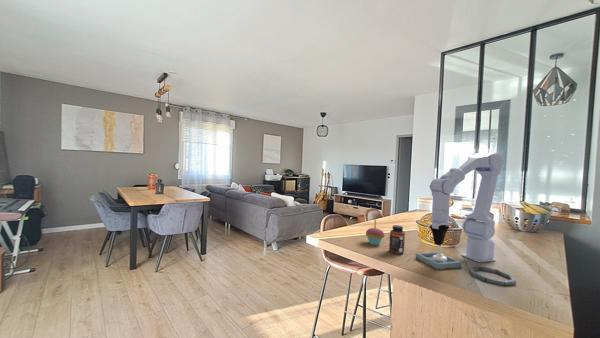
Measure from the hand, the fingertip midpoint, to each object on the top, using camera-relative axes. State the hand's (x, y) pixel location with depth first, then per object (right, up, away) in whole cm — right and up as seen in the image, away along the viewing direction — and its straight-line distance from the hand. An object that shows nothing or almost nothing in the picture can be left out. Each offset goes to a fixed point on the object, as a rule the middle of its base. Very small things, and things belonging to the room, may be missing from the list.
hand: (438, 244), depth 96 cm
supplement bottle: (-13, -7, +10) cm, 18 cm away
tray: (0, -7, 0) cm, 7 cm away
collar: (+12, -8, -11) cm, 18 cm away
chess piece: (0, -6, 0) cm, 6 cm away
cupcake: (-19, -6, +21) cm, 29 cm away
